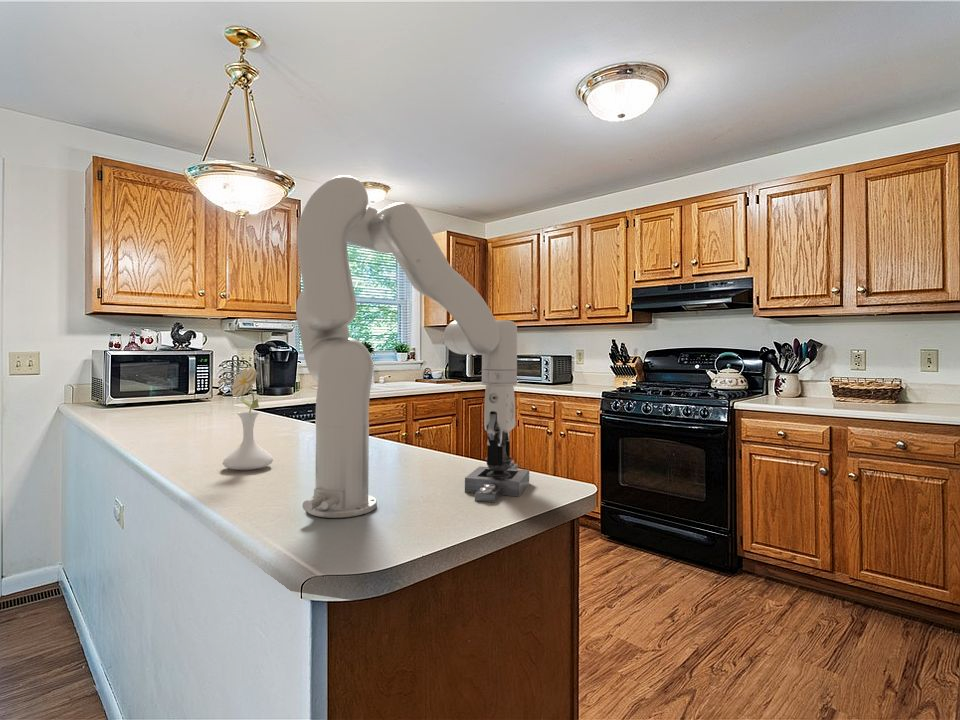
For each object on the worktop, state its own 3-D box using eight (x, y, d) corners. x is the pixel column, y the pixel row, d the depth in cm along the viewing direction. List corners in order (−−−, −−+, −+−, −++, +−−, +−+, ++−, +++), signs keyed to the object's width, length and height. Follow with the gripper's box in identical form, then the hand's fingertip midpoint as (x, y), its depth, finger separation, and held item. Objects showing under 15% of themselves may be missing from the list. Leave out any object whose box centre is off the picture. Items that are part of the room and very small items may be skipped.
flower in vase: (219, 466, 133) (219, 365, 132) (268, 461, 139) (268, 365, 138) (226, 477, 122) (227, 367, 121) (279, 471, 128) (279, 367, 127)
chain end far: (519, 496, 108) (519, 478, 108) (464, 492, 111) (464, 474, 111) (533, 477, 125) (533, 461, 125) (485, 473, 128) (486, 458, 128)
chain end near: (513, 504, 102) (513, 492, 102) (456, 499, 106) (456, 487, 105) (529, 483, 119) (529, 473, 119) (479, 479, 122) (479, 469, 122)
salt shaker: (479, 474, 115) (479, 419, 115) (499, 470, 119) (499, 417, 119) (498, 480, 111) (498, 422, 111) (517, 475, 115) (518, 419, 115)
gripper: (507, 380, 105) (507, 471, 106) (524, 376, 122) (523, 455, 122) (471, 379, 107) (470, 469, 108) (492, 375, 124) (491, 453, 124)
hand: (498, 461), depth 115 cm, fingers closed on salt shaker, 5 cm apart
